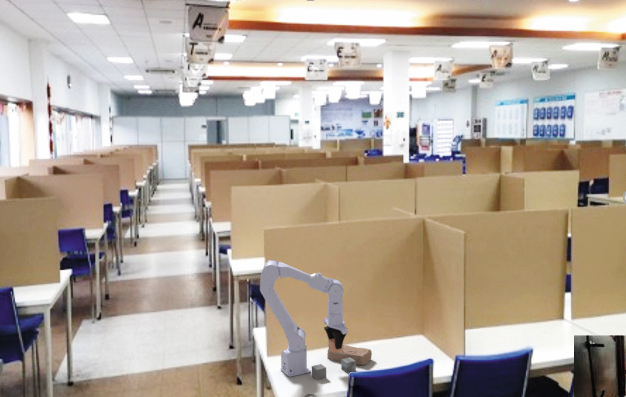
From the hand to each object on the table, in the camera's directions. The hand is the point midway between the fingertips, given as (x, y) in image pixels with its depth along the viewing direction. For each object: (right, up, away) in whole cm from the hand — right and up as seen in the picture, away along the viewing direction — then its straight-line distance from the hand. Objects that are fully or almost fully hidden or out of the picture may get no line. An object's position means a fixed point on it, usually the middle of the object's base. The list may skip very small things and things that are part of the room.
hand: (335, 346), depth 214 cm
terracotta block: (0, -1, 0) cm, 1 cm away
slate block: (+5, -9, +1) cm, 11 cm away
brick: (+6, -9, +12) cm, 16 cm away
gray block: (-6, -10, -5) cm, 13 cm away
